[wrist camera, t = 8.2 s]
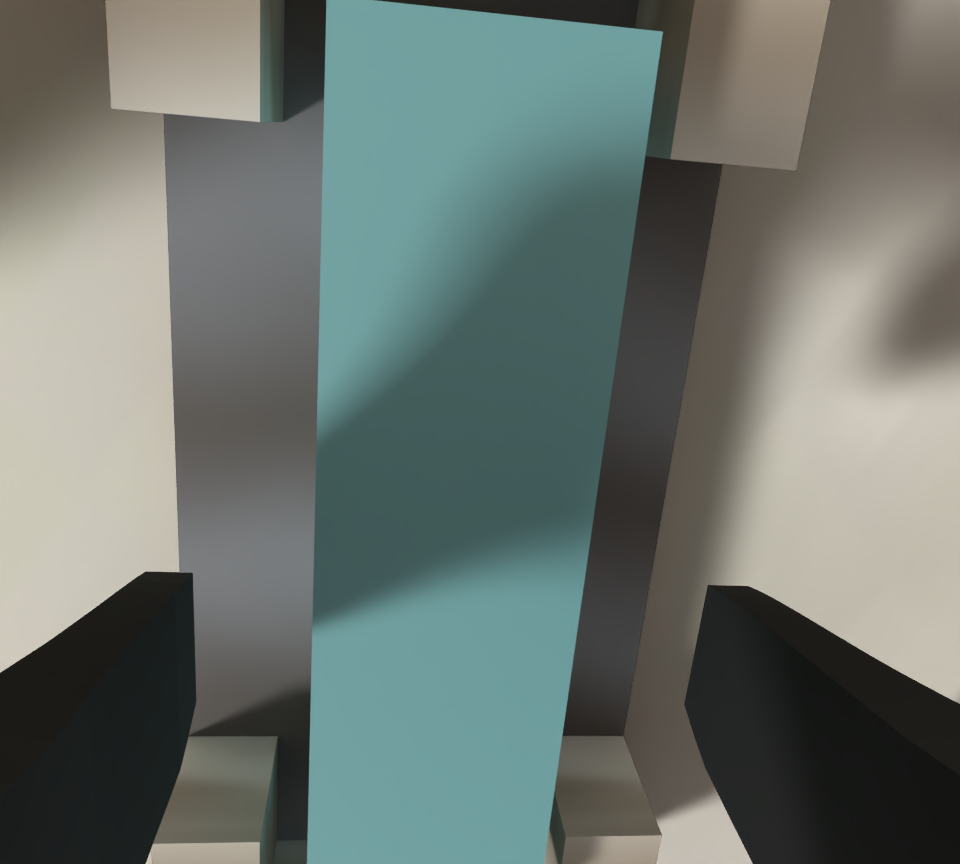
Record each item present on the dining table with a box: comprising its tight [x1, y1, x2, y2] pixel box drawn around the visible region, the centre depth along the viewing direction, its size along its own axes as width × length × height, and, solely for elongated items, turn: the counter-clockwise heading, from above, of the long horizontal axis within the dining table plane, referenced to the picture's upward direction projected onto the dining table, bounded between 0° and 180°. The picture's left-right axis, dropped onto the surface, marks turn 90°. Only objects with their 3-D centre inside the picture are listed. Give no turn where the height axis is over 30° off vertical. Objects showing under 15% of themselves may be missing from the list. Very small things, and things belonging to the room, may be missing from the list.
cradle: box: [105, 0, 830, 864], centre depth 16 cm, size 22×10×4 cm, turn 175°
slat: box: [307, 0, 663, 864], centre depth 15 cm, size 16×4×5 cm, turn 175°
